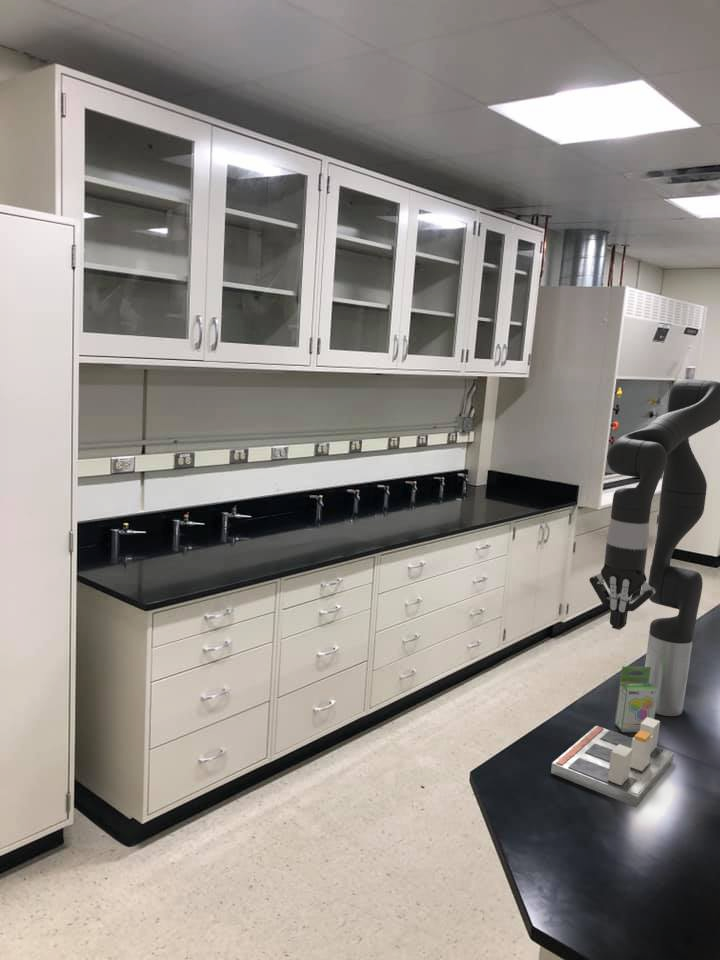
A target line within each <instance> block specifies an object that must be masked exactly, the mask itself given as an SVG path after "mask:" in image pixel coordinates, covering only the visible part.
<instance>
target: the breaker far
mask: <svg viewBox="0 0 720 960" xmlns="http://www.w3.org/2000/svg"><path fill="white" fill-rule="evenodd" d="M660 724H661V721H660V720H658V719H655V718H654V719H652V718H649V717H647V718H646V719H645V720H644V721H643V722H642V723H641V725H640V730H642V731H645V732H648V733H651V736H653V738H652V745H651V752H650V754H651V753H652V752H653V751H654V749H655V748H656V747H658V740H659V732H660Z"/></svg>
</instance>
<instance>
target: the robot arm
mask: <svg viewBox="0 0 720 960" xmlns="http://www.w3.org/2000/svg"><path fill="white" fill-rule="evenodd" d="M667 402H668V404H667V413H663V414H662V415H661V414H660V415H659V416H657V417H655V418H654V419H653V420H652V421H650V422H649V423H648V424H646V426H644V427H643V428H642V429H638V430H635V431H632V432H630V433H627V434H624V435H622V436H620V437H618V438H617V439H616V440H614V442H613V443H612V444H611V445H610V447H609V449H608V451H607V455H606V456H607V457H606V460H607V466H608V468H610V470H611V472H613V473H614V474H617V475H620V476H625V477H634V478H639V482H638V484H636V486H634V487H622V488H618V489H616V490H615V491H614V493H613V495H612V503H611V504H612V505H611V511H610V520H609V525H608V528H607V534H606V544H605V545H606V546H605V553H604V554H605V555H604V564H603V567H602V568H601V570H600V573H599V574H595V575H592V576H591V577H590V578H589V580H588V581H589V582H590V584H591V586H592V587H593V590H594V591H595V594H596V595H597V597H598V599H599V600H600V602H601V604H602V605H604V606H607V607H609V608H610V616H609V624H610V625H611V629H615V630H619V631H620V630H622V629H623V628H624V627H626V625H627V621H628V615H629V614H628V613H629V612H634V611H636V610H637V609H638V608H640V607H641V606H642V605H644V603H646V601H648V600H649V601H650V602H651V603H653V604H657V605H660V606H664V607H668V608H671V609H675V610H678V614H677V615H676V616H671V617H661V618H656V619H653V620H652V621H651V622H650V625H649V634H648V640H647V648H646V655H645V656H646V657H645V663H644V667H651V670H650V676H649V683H650V684H652V685H653V686H654V687H655V688H656V689H657V690H658V693H657V701H656V709H655V715H656V714H657V715H661V716H665V717H677V716H680V715H682V714H683V711H684V710H683V709H684V703H685V696H686V689H687V683H688V677H689V676H688V675H689V669H690V662H691V653H692V647H693V641H694V640H693V639H694V633H695V628H696V623H697V617H698V611H699V607H700V602H701V599H702V598H701V597H702V592H703V577H702V575H701V573H700V572H698V571H695V570H692V569H687V568H682V567H677V566H674V565H673V566H672V565H671V560H672V555H673V553H674V551H675V549H676V547H677V546H678V545H679V543H680V542H681V540H682V539H683V538H684V537H685V536H686V535H687V534H688V532H690V531H691V530H692V528H694V527H695V526H696V525H697V523H698V522H699V521H700V520H701V518H702V516H703V515H704V512H705V505H706V496H707V490H708V489H707V488H708V484H707V480H706V477H705V474H704V472H703V470H702V468H701V466H700V464H699V462H698V460H697V458H696V456H695V455H694V453H693V450H692V448H691V444H690V442H689V441H690V440H689V438H690V437H692V436H694V435H695V434H697V433H700V432H702V431H703V430H705V429H707V428H709V427H712V426H713V425H715V424H717V423H718V422H719V421H720V382H719V381H715V380H706V379H705V380H704V379H691V378H690V379H689V378H688V379H687V378H680V379H676V381H674V382H673V383H672V386H671V388H670V391H669V395H668V401H667ZM661 479H662V482H661V488H660V498H659V508H658V509H659V510H658V522H657V531H656V538H655V545H654V550H653V556H652V560H651V565H650V572H649V575H648V576H649V577H648V582H647V576H646V573H645V571H646V563H647V556H648V546H649V537H650V519H651V508H652V503H653V499H654V495H655V492H656V490H657V487H658V484H660V483H659V482H660V480H661ZM604 583H605V585H606V586H607V588H608V590H609V591H608V590H607V588H606V586H605V585H604ZM640 588H641V589H640ZM639 589H640V596H639V597H638V598H637V599H635V600H634V601H633V602H631V600H632V597H633V595H634V594H635V593H636V592H638V590H639Z"/></svg>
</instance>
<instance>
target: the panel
mask: <svg viewBox="0 0 720 960" xmlns="http://www.w3.org/2000/svg"><path fill="white" fill-rule="evenodd" d="M633 738H634V737H630V736H628V735H624V734H622V733H618V732H616V731H613V730H611V729H607V728H605V727H601V726H599V725H595V726H593V727H592V728H591V729H590V730H589V731H588V732H587V733H585V735H583V736H582V737H581V738H579V740H577V741H576V742H575V743H574V744H573V745H571V746H570V747H569V748H568V749H567V750H566V751H565V752H563V753H562V754H561V755H560V756H558V757H557V758H556V759H554V761H552V762H551V770H550V774H553V775H555V776H558V777H560V778H562V779H564V780H567V781H570V782H573V783H574V784H578V785H580V786H582V787H585V788H586V789H589V790H593V791H595V792H597V793H600V794H602V795H605V796H607V797H609V798H612V799H614V800H617V801H618V802H622V803H624V804H627V805H629V806H631V807H635V808H637V807H638V806H639V804H640V803H641V802H642V801H643V800H644V798H646V796H647V795H648V793H650V792H651V790H652V788H654V787H655V785H656V784H657V783H658V782H659V781H660V779H661V778H662V777H663V776H664V775H665V773H666V772H667V771H668V770H669V768H670V767H671V766H672V765H673V764H674V759H675V752H673V751H670V750H667V749H664V748H661V747H659V746H657V747H656V748H655V749H654V751H653V752H652V753H651V754H650V760H649V764H648V765H647V766H646V767H645V769H644V770H643V771H640V770H637V769H634V768H632V767H630V774H629V778H628V779H627V780H626V781H625V782H624V783H623V784H622V785H619V784H616V783H614V782H611V781H609V780H608V774H609V766H610V758H611V751H613V750H614V749H615V748H616V747H617V746H618V745H619V744H620V745H623V746H626V747H629V748H631V745H632V739H633Z"/></svg>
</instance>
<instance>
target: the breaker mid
mask: <svg viewBox="0 0 720 960" xmlns="http://www.w3.org/2000/svg"><path fill="white" fill-rule="evenodd" d="M632 738H633V739H632V745H631V749H633V751H632V759H631V766H630V767H632V768H634V769H637V770H640V771H643V770H644V769H645V767H646V766H647V765H648V764H649V760H650V752H651V745H652V738H653V736H651V733H648V732H645V731H642V730H640V731H639V732H636V734H635V735H634V737H632Z"/></svg>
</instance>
